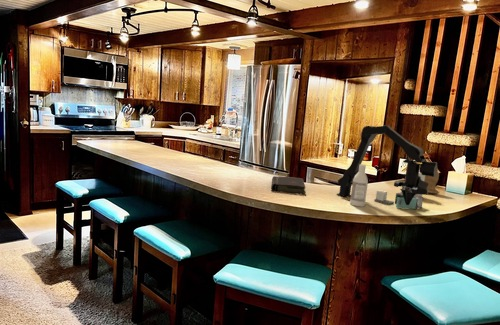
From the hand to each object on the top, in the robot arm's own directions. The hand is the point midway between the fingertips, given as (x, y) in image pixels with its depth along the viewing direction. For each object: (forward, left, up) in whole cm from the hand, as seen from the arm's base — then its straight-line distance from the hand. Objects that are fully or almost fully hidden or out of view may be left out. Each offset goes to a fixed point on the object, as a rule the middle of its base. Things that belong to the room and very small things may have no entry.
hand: (407, 204), depth 184 cm
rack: (+13, +4, -3) cm, 14 cm away
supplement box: (+44, +13, -3) cm, 46 cm away
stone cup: (+68, +14, -3) cm, 69 cm away
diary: (-18, +59, -4) cm, 62 cm away
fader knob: (+6, +16, -2) cm, 17 cm away
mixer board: (+6, +14, -3) cm, 16 cm away
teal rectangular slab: (+4, +2, -3) cm, 5 cm away
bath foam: (-15, +18, -3) cm, 24 cm away
